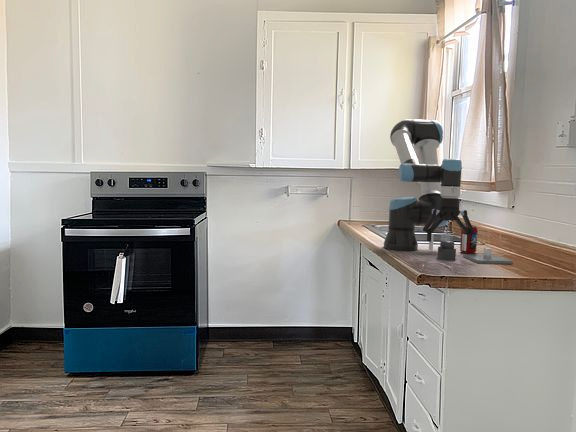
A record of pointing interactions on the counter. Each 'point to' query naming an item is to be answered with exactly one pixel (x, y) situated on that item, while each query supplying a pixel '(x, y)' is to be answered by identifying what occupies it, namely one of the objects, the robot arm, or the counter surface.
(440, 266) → the counter surface
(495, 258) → the hub
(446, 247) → the knob
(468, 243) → the beverage can
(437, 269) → the counter surface
